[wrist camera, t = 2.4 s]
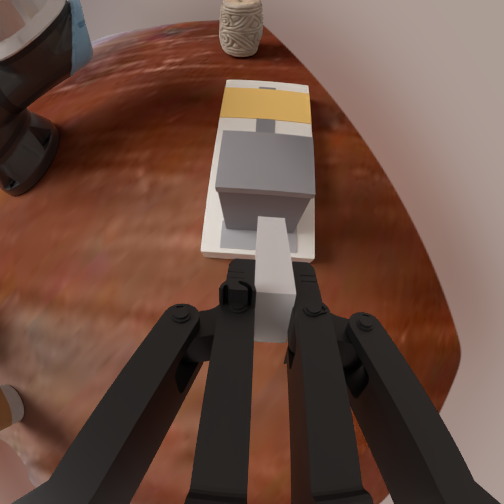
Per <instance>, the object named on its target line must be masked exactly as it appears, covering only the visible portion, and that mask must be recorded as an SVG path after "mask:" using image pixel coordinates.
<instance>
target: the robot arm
mask: <svg viewBox="0 0 504 504" xmlns="http://www.w3.org/2000/svg"><path fill="white" fill-rule="evenodd" d="M92 56H93V49H92V45H91V41H90V38H89V34H88V31H87V27H86V24H85V20H84V15H83V11H82V7H81V3H80V0H68V1H67V0H0V188H1V189H2V190H3V191H5V192H6V193H8V194H9V195H12V196H18V195H21V194H23V193H25V192H26V191H28V190H29V189H30V188H32V187H33V186H34V185H35V184H36V183H37V182H38V181H39V179H40V178H41V177H42V176H43V174H44V173H45V172H46V170H47V169H48V167H49V165H50V164H51V162H52V160H53V158H54V156H55V153H56V151H57V147H58V143H59V132H58V129H57V128H56V127H55V125H54V124H53V123H52V122H51V121H50V120H48V119H46V118H44V117H42V116H40V115H38V114H35V113H33V112H31V111H29V110H28V109H27V107H28V106H29V105H30V104H31V103H33V102H34V101H35V100H37V99H38V98H39V97H41V96H42V95H43V94H45V93H46V92H48V91H49V90H50V89H52V88H53V87H55V86H56V85H58V84H59V83H61V82H62V81H64V80H65V79H67V78H69V77H71V76H73V74H74V73H75V72H77V71H78V70H80V69H81V68H83V67H84V66H86V65H87V64H88V63H89V62H90V60H91V59H92ZM287 337H288V347H287V352H286V356H285V360H284V364H286V363H287V374H288V395H289V420H290V452H291V504H373V500H372V497H371V495H370V493H369V492H367V491H366V490H365V489H364V488H363V486H362V481H361V472H360V465H359V457H358V450H357V444H356V437H355V431H354V425H353V419H352V413H351V408H352V410H353V413H354V415H355V417H356V419H357V421H358V423H359V426H360V428H361V430H362V432H363V434H364V437H365V439H366V441H367V443H368V445H369V448H370V450H371V452H372V454H373V457H374V459H375V461H376V463H377V466H378V468H379V470H380V472H381V475H382V477H383V479H384V482H385V484H386V486H387V488H388V491H389V493H390V495H391V498H392V500H393V502H394V504H500V503H499V502H498V501H497V500H496V499H495V498H493V497H492V496H491V495H490V494H489V493H488V492H487V491H485V490H484V489H483V488H482V487H481V486H480V485H478V484H477V483H476V482H475V481H474V480H473V477H472V475H471V473H470V471H469V469H468V467H467V465H466V463H465V461H464V459H463V457H462V455H461V453H460V451H459V449H458V447H457V446H456V444H455V442H454V440H453V438H452V436H451V434H450V433H449V431H448V429H447V427H446V426H445V424H444V422H443V420H442V419H441V417H440V415H439V413H438V412H437V410H436V408H435V407H434V405H433V403H432V402H431V400H430V398H429V397H428V395H427V393H426V392H425V390H424V388H423V387H422V385H421V384H420V382H419V380H418V379H417V377H416V376H415V374H414V373H413V371H412V369H411V368H410V366H409V365H408V363H407V362H406V360H405V359H404V357H403V356H402V354H401V353H400V351H399V350H398V348H397V347H396V345H395V344H394V342H393V341H392V339H391V338H390V336H389V335H388V333H387V332H386V330H385V329H384V328H383V326H382V325H381V323H380V322H379V321H378V320H377V319H376V318H375V317H374V316H372V315H371V314H368V313H364V312H358V313H355V314H353V315H352V316H351V317H350V319H346V318H342V317H339V316H336V315H333V314H332V313H330V311H329V309H328V307H327V306H326V305H325V304H324V303H322V299H321V295H320V290H319V286H318V283H317V278H316V274H315V270H314V268H313V267H312V266H311V265H310V264H309V263H308V262H296V261H291V254H290V248H289V241H288V235H287V229H286V223H285V218H276V217H262V216H258V223H257V238H256V251H255V260H253V259H238V258H235V259H234V260H233V261H232V262H231V263H230V264H229V269H228V274H227V280H226V281H225V282H224V283H222V284H221V286H220V288H219V305H218V306H217V307H215V308H213V309H210V310H206V311H200V312H198V310H197V309H196V308H195V307H194V306H191V305H189V304H176V305H173V306H171V307H169V308H168V309H167V310H166V311H165V312H164V314H163V315H162V316H161V318H160V319H159V320H158V322H157V323H156V324H155V326H154V327H153V328H152V330H151V331H150V332H149V334H148V335H147V337H146V338H145V339H144V341H143V342H142V343H141V345H140V346H139V347H138V349H137V350H136V352H135V353H134V354H133V356H132V357H131V358H130V360H129V361H128V363H127V364H126V365H125V367H124V368H123V370H122V371H121V372H120V374H119V375H118V377H117V378H116V380H115V381H114V382H113V384H112V385H111V387H110V388H109V389H108V391H107V392H106V394H105V395H104V397H103V398H102V400H101V401H100V402H99V404H98V405H97V407H96V408H95V410H94V411H93V413H92V414H91V416H90V417H89V419H88V420H87V422H86V423H85V425H84V426H83V428H82V429H81V431H80V432H79V434H78V435H77V437H76V438H75V440H74V441H73V443H72V444H71V446H70V447H69V449H68V450H67V452H66V454H65V455H64V457H63V458H62V460H61V461H60V463H59V465H58V466H57V468H56V469H55V471H54V473H53V474H52V476H51V477H50V479H49V480H48V481H47V482H45V483H43V484H42V485H40V486H39V487H37V488H36V489H34V490H33V491H31V492H29V493H28V494H26V495H25V496H23V497H21V498H20V499H18V500H16V501H15V502H13V503H12V504H130V502H131V500H132V498H133V496H134V494H135V492H136V490H137V489H138V487H139V485H140V483H141V481H142V479H143V477H144V475H145V474H146V472H147V470H148V468H149V466H150V464H151V462H152V460H153V458H154V457H155V455H156V453H157V451H158V449H159V447H160V445H161V443H162V441H163V439H164V438H165V436H166V434H167V432H168V430H169V428H170V426H171V424H172V422H173V420H174V418H175V416H176V415H177V413H178V411H179V409H180V407H181V405H182V403H183V401H184V399H185V397H186V395H187V393H188V392H189V390H190V388H191V386H192V384H193V382H194V380H195V378H196V376H197V374H198V372H199V370H200V368H201V366H202V364H203V362H204V361H210V362H209V368H208V374H207V380H206V386H205V392H204V398H203V405H202V411H201V417H200V424H199V430H198V437H197V443H196V450H195V457H194V464H193V471H192V478H191V485H190V490H189V493H188V495H187V497H186V500H185V503H184V504H247V485H248V464H249V442H250V420H251V397H252V373H253V348H254V341H255V342H275V343H286V341H287ZM350 406H351V408H350Z"/></svg>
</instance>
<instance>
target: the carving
mask: <svg viewBox="0 0 504 504" xmlns="http://www.w3.org/2000/svg"><path fill="white" fill-rule="evenodd" d="M261 13H262V3H261V1H260V0H224V1H223V2H222V5H221V12H220V29H219V38H220V44H221V46H222V48H223V50H224V51H225V52H226V53H227V54H229V55H232V56H235V57H248V56H252V55H253V54H255V53H256V52H257V50H258V46H259V42H260V39H261V37H262V32H263V31H262V28H263V15H262V14H261Z"/></svg>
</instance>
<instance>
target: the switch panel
mask: <svg viewBox="0 0 504 504" xmlns="http://www.w3.org/2000/svg"><path fill="white" fill-rule="evenodd" d="M223 130H227V131H250V132H265V133H278V134H288V135H298V136H306V137H312V128H311V110H310V98H309V89H308V86H306V85H298V84H290V83H280V82H268V81H252V80H227V82H226V87H225V91H224V96H223V101H222V107H221V112H220V119H219V125H218V130H217V136H216V142H215V149H214V155H213V161H212V168H211V175H210V181H209V189H208V196H207V203H206V211H205V219H204V227H203V235H202V244H201V252H202V254H203V255H204V257H209V258H223V259H235V258H238V259H253V260H255V251H256V238H257V231H253V230H238V229H226V226H225V222H224V217H223V213H222V208H221V204H220V199H219V195H218V192H216V189H215V183H216V175H217V168H218V161H219V154H220V147H221V141H222V134H223ZM287 235H288V241H289V248H290V254H291V261H296V262H308V263H310V262H312V261H313V260H314V259H315V201H314V198H313V199H311V200H310V202H309V203H308V205H307V207H306V209H305V211H304V213H303V215H302V217H301V219H300V221H299V222H298V224H297V226H296V228H295V230H294V232H293V233H287Z"/></svg>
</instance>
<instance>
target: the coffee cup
mask: <svg viewBox="0 0 504 504" xmlns="http://www.w3.org/2000/svg"><path fill="white" fill-rule="evenodd" d="M23 416H24V406H23V403H22V400H21V398H20V396H19V394H18V393H17V392H16V390H15V389H14V388H12V387H11V386H8V385H0V430H2V429H5V428H7V427H9V426H11V425H12V424H14V423H16V422H18V421H20V420H21V419H22V418H23Z"/></svg>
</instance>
